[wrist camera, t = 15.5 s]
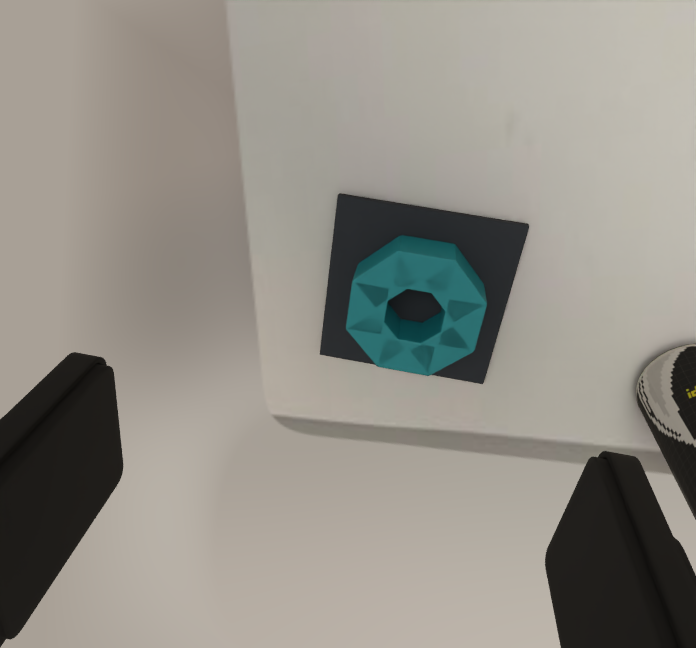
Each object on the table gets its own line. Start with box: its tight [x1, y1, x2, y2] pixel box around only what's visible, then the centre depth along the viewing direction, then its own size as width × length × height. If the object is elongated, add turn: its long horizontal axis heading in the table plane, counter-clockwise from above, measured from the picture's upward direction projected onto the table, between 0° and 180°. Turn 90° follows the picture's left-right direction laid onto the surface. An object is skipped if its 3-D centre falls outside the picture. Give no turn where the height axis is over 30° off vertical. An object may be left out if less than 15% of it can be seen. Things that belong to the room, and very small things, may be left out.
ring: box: [346, 235, 487, 376], centre depth 31 cm, size 7×7×2 cm
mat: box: [320, 194, 529, 384], centre depth 32 cm, size 10×10×1 cm
